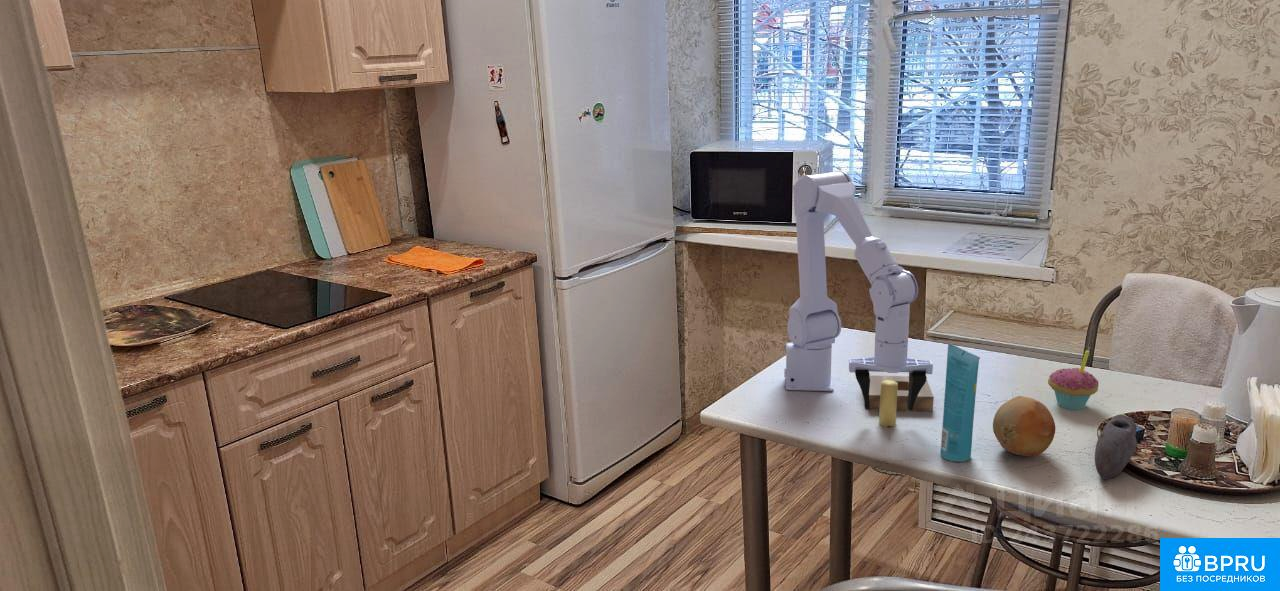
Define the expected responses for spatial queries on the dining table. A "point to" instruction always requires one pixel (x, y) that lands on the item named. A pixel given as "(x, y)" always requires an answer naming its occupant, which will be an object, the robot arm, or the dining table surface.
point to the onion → (1024, 426)
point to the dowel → (888, 403)
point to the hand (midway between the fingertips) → (888, 408)
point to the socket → (900, 393)
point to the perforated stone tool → (1115, 446)
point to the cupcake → (1073, 386)
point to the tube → (959, 404)
